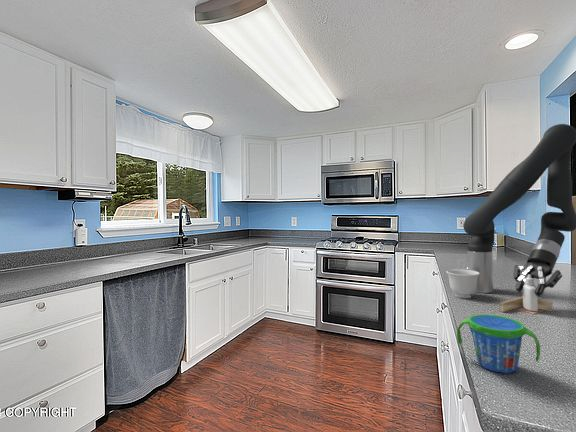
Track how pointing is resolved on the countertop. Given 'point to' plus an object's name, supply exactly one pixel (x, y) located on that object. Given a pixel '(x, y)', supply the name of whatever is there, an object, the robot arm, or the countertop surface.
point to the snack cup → (497, 341)
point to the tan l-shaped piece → (519, 303)
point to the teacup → (463, 282)
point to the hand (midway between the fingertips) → (527, 292)
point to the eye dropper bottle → (530, 295)
